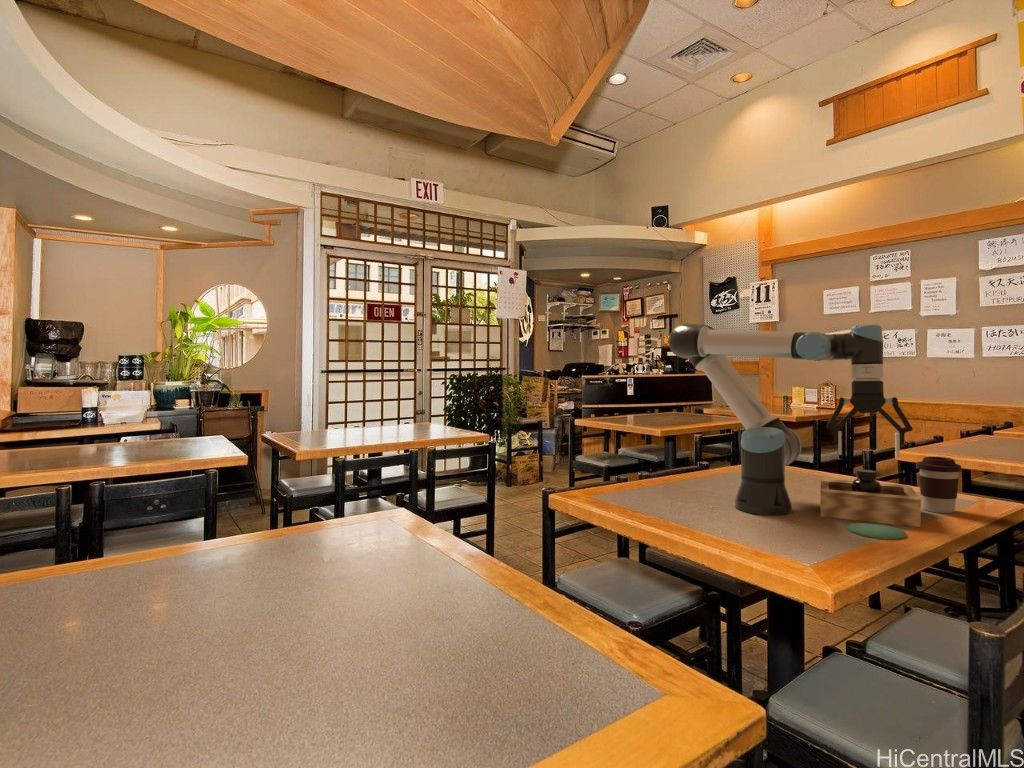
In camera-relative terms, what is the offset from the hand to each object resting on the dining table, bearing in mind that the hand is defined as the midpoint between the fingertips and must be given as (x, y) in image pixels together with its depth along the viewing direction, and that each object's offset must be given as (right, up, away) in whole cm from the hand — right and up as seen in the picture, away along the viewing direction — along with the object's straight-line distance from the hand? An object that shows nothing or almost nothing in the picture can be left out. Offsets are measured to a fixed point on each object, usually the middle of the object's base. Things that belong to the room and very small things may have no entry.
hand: (868, 455), depth 154 cm
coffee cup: (+22, -16, +2) cm, 27 cm away
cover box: (0, -16, +1) cm, 16 cm away
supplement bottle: (0, -17, +1) cm, 17 cm away
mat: (-9, -17, -17) cm, 26 cm away
